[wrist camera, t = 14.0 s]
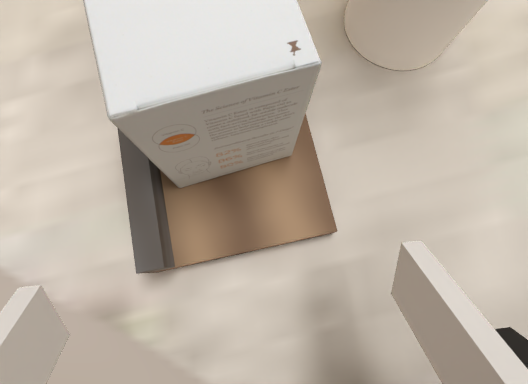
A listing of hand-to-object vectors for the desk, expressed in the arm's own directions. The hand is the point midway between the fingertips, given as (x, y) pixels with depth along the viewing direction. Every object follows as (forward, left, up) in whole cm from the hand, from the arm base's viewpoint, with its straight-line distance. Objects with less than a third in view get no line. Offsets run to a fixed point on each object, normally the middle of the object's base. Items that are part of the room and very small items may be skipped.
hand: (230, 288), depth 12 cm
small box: (+6, -7, -8) cm, 12 cm away
